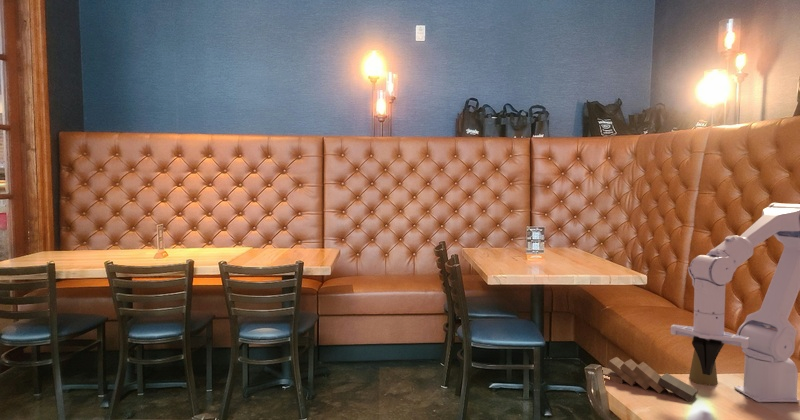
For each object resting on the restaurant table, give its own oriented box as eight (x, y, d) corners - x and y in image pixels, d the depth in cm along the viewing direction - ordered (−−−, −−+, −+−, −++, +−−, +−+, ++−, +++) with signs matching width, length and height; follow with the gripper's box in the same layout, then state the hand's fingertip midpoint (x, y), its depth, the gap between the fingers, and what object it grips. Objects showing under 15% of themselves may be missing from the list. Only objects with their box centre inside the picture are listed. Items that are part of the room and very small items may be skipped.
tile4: (642, 376, 124) (616, 356, 128) (635, 381, 121) (609, 360, 125) (638, 381, 124) (613, 361, 129) (631, 386, 121) (606, 365, 125)
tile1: (698, 390, 115) (666, 372, 120) (692, 395, 112) (660, 377, 117) (695, 396, 116) (663, 378, 120) (689, 401, 113) (657, 383, 117)
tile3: (656, 380, 122) (630, 358, 126) (649, 385, 118) (623, 363, 122) (652, 384, 122) (626, 363, 126) (645, 390, 119) (619, 367, 123)
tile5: (629, 373, 126) (600, 366, 131) (622, 378, 123) (593, 370, 128) (628, 380, 126) (600, 372, 131) (621, 385, 123) (593, 377, 128)
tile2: (669, 383, 119) (643, 361, 123) (663, 388, 116) (636, 366, 120) (665, 388, 120) (639, 366, 124) (659, 393, 117) (632, 371, 121)
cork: (722, 386, 122) (723, 340, 121) (693, 384, 123) (695, 338, 122) (712, 377, 128) (713, 333, 127) (685, 375, 129) (686, 331, 128)
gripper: (666, 308, 114) (665, 369, 114) (744, 320, 104) (742, 387, 104) (676, 303, 119) (675, 361, 119) (752, 314, 109) (749, 378, 109)
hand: (707, 373), depth 112 cm, fingers closed
